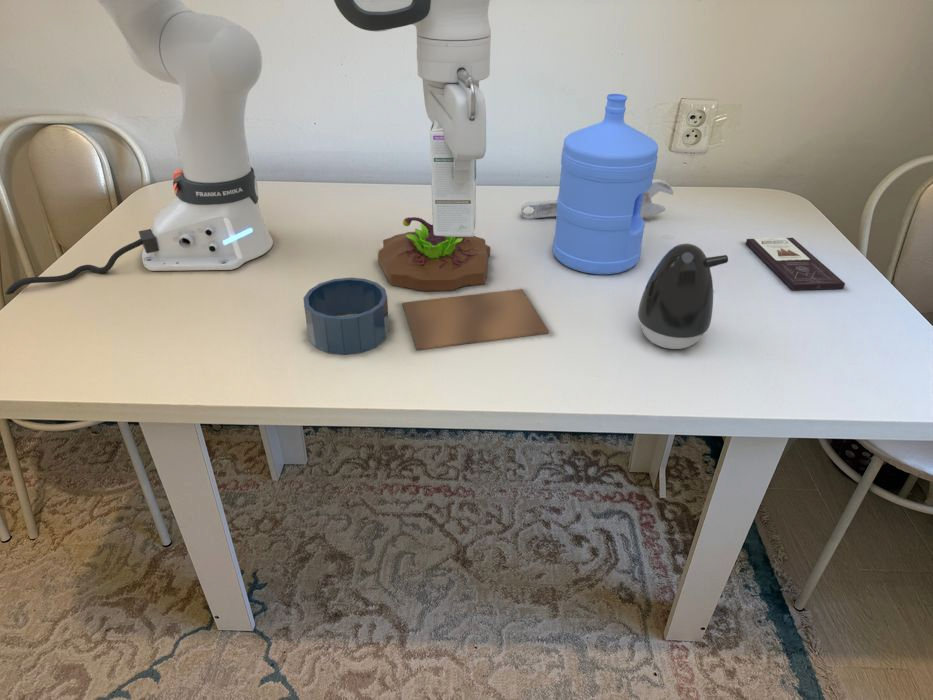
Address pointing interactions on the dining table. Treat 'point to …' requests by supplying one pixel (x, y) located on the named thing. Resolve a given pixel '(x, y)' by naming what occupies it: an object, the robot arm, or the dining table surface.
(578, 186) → the water jug
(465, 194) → the syrup box
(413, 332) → the brown flat rectangular board
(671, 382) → the dining table surface
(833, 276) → the chocolate bar
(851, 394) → the dining table surface
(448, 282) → the plant
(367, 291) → the pipe section
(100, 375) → the dining table surface
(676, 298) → the pump dispenser
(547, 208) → the wrench
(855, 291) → the dining table surface
